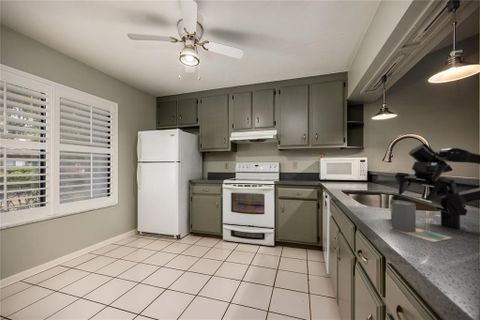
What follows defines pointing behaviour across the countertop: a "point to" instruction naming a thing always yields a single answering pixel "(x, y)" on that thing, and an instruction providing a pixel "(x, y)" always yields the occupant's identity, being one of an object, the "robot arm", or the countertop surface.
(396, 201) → the food container
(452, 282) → the countertop surface
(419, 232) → the stand board
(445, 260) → the countertop surface
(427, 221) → the countertop surface
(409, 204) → the tall gray pillar
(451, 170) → the robot arm
